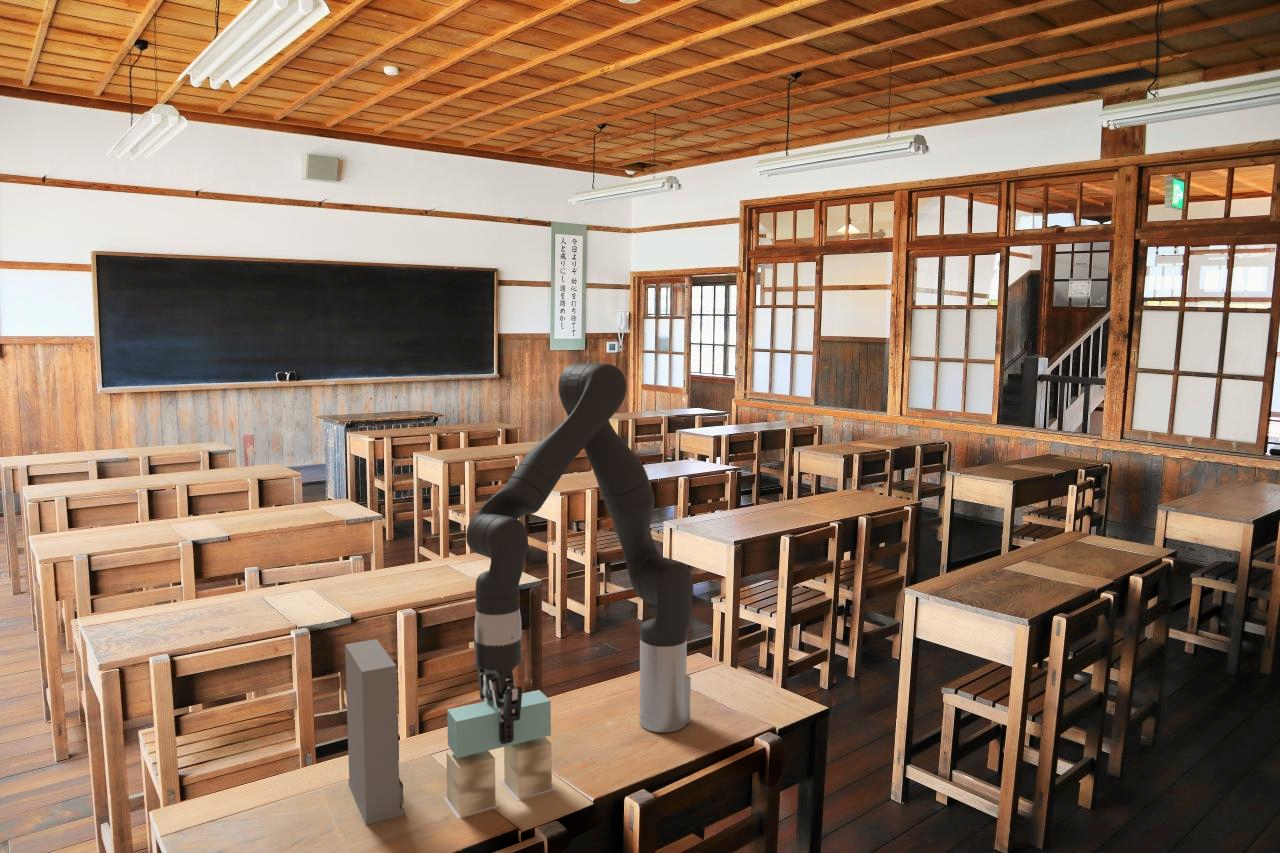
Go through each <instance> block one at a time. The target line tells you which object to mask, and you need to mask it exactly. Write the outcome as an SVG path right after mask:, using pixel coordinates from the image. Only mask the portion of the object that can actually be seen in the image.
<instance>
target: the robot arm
mask: <svg viewBox="0 0 1280 853" xmlns="http://www.w3.org/2000/svg"><path fill="white" fill-rule="evenodd" d="M626 392H627V381H626V378H625V375H624V373H623V372H622V370H621V369H620V368H619V367H617V366H616V365H614V364H610V363H605V362H604V363H603V362H583V363H582V362H579V363H573V364H570V365H568V366H566V367H564V369H563V370H562V371H561V374H560V375H559V379H558V394H559V398H560V401H561V404H562V406H563V408H564V411H565V413H566V415H567V417H566V419H564V421H563V422H562V423H561V424H560V425H559V426H557V427H556V428H555V429H554V430H553V431H552V432H550V433H549V434H547V435H546V436H545V437H544V438H543V439H541V440H540V441H539V442H538V443H536V445H534V446H533V447H532V448H531V449H530V450H529V451H528V452H527V453H526V455H525V456H524V457H523V458H522V459H521V461H520V462H519V464H518V465H517V467H516V468H515V470H514V471H513V473H512V474H511V476H510V477H509V478H508V480H507V482H506V483H505V485H503V487H501V489H499V490H498V491H496V493H494V494H493V496H491V497H490V498H489V499H488V500H487V501H486V502H485V503H484V504H483V505H482V506H480V507H479V509H478V510H477V511H476V512H475V514H473V516H472V518H471V519H470V521H469V523H468V525H467V528H466V535H465V536H466V537H465V539H466V540H465V541H466V543H467V546H468V547H469V549H470V550H471V551H472V552H474V553H476V554H478V555H481V556H484V557H488V558H490V565H489V570H486V571H483V572H482V573H480V574H479V575H477V578H476V580H475V617H474V662H475V665H476V669H477V679H478V689H479V699H480V700H481V701H483V702H485V701H490V700H493V703H494V707H495V708H497V709H498V716H499V741H500V743H501V744H507V743H510V742H512V741H513V740H514V727H513V721H516V720H520V712H521V701H522V694H523V689H522V686H515V685H516V682H515V676H514V669H515V668H516V667H518V666H519V665H520V664H521V663H522V661H523V654H522V653H523V651H522V650H523V649H522V643H523V642H522V639H523V638H522V636H523V635H522V616H521V610H520V608H521V606H520V604H521V603H520V602H521V601H520V599H521V598H520V581H521V578H522V575H523V572H524V568H525V563H526V558H527V553H528V548H529V538H528V537H529V536H528V533H527V528H526V527H525V525H524V523H523V522H522V521H520V520H519V519H520V518H522V517H524V516H527V515H532V514H536V513H537V512H538V511H540V509H541V508H542V507H543V505H544V504H545V502H546V501H547V500H548V498H549V496H550V495H551V492H552V491H553V490H554V488H555V486H556V485H557V483H558V482H559V481H560V479H561V477H562V476H563V474H565V472H566V470H567V469H568V467H569V466H570V465H571V463H573V461H574V460H575V458H576V457H577V456H578V455H579V454H580V453H581V452H582V451H583V449H584V451H585V454H586V457H587V459H588V462H589V463H590V464H589V465H590V467H591V469H592V471H593V474H594V476H595V478H596V482H597V484H598V487H599V492H600V494H601V497H602V499H603V501H604V503H605V504H604V505H605V507H606V509H607V512H608V514H609V516H610V518H611V522H612V524H613V527H614V529H615V532H616V535H617V538H618V540H619V543H620V546H621V549H622V552H623V553H622V554H623V556H624V560H625V564H626V569H627V572H628V577H629V580H630V584H631V586H632V589H633V591H634V593H635V594H636V595H637V597H639V598H640V599H641V600H642V601H645V602H648V603H650V604H653V605H656V609H655V617H653V618H650V619H646V620H644V621H643V622H642V624H640V628H639V724H640V726H641V727H642V728H644V729H645V730H647V731H650V732H653V733H654V732H655V733H663V734H664V733H665V734H666V733H673V732H676V731H680V730H682V729H683V728H685V727H686V726H687V725H688V724H691V693H692V692H691V690H692V689H691V688H692V686H691V685H692V683H691V682H692V679H691V676H690V675H689V674H688V673H687V668H688V667H687V664H688V663H687V658H688V656H687V655H688V654H687V651H688V650H687V649H688V648H687V647H688V646H687V644H688V642H687V639H688V631H689V628H690V624H691V620H692V605H693V590H694V589H693V588H694V586H693V584H694V582H693V575H692V572H691V569H690V568H689V566H688V565H687V564H686V563H685V562H682V561H678V560H675V559H671V558H668V557H665V556H662V555H661V554H660V552H659V550H658V549H657V547H656V543H655V541H654V539H653V536H652V532H651V524H652V519H653V515H654V512H655V511H654V510H655V495H654V492H653V487H652V485H651V483H650V479H649V476H648V474H647V471H646V469H645V467H644V464H642V462H641V460H640V458H639V457H638V456H637V455H636V453H634V451H633V450H632V448H630V447H629V446H628V445H627V444H626V442H625V441H624V440H623V439H622V438H621V437H620V435H619V434H617V433H618V432H616V431H615V429H614V428H613V425H612V424H611V422H610V419H611V418H612V417H613V416H614V415H615V413H616V412H617V411H618V410H619V409H620V408H621V405H622V404H623V402H624V400H625V397H626V394H627V393H626ZM503 698H505V699H504V701H503V702H500V701H499V699H503ZM503 707H504V711H503ZM509 712H510V713H509Z"/></svg>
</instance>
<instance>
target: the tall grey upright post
mask: <svg viewBox="0 0 1280 853" xmlns="http://www.w3.org/2000/svg"><path fill="white" fill-rule="evenodd" d="M344 654H345V656H344V657H345V682H346V683H345V684H346V685H345V686H346V687H345V688H346V690H345V691H346V717H347V718H346V719H347V747H348V748H347V750H348V752H347V754H348V780H347V781H348V786H349V789H350V791H351V793H352V795H353V796H352V797H353V800H354V801H355V803H356V806H357V808H358V810H359V812H360V814H361V817H362V819H363V822H364V824H365V826H368V825H371V824H376V823H379V822H383V821H387V820H390V819H394V818H398V817H401V816H404V815H405V809H404V807H403V805H404V804H405V803H404V785H403V783H402V781H401V779H400V762H399V761H400V744H399V715H398V713H399V712H398V679H397V675H398V674H397V665H396V663H395V662H394V660H393V659H392V658H391V657H390V655H389V654H388V652H387V651H386V650H385V648H384V647H383V646H382V644H381V642H380V641H379V640H378V639H369V640H363V641H359V642H358V641H357V642H352V643H351V642H350V643H346V644H344Z"/></svg>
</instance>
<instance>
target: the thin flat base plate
mask: <svg viewBox="0 0 1280 853" xmlns="http://www.w3.org/2000/svg"><path fill="white" fill-rule="evenodd" d="M500 783H501V785H502V786H503V787H504V788H505V789H506V791H508V793H509V794H510V795H511V796H512V797H513V799H514V800H515V801H516V802H520V801H522V800H525V799H530V798H532V797H536V796H539V795H542V794H546V793H549V792H552V791H556V790H557V789H556V788H555V787H554V786H553V785H552V789H549V790H546V791H543V792H539V793H536V794H533V795H529V796H526V797H523V798H519V799H518V797H517V796H516V795H515V794H514V793H513V792H512V791H511V789H510V788H509V787H508V786H507V785H506V784H505V780H503V781H500ZM443 800H444V801H445V803H446V805H447V806H448V807H449V808H450V810H451V811H452V813H453V815H454V816H455V818H457V820H459V819H462V818H467V817H469V816H472V815H476V814H479V813H482V812H486V811H490V810H493V809H496V808H499V807H500V804H498V802H497V801H496V806H492V807H489V808H486V809H482V810H479V811H476V812H472V813H469V814H466V815H462V816H459V814H458V813H457V812H456V810H455V809H454V807H453V806H452V805H451V803H450V802H449V800H448V799H447V796H446V797H443Z"/></svg>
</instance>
